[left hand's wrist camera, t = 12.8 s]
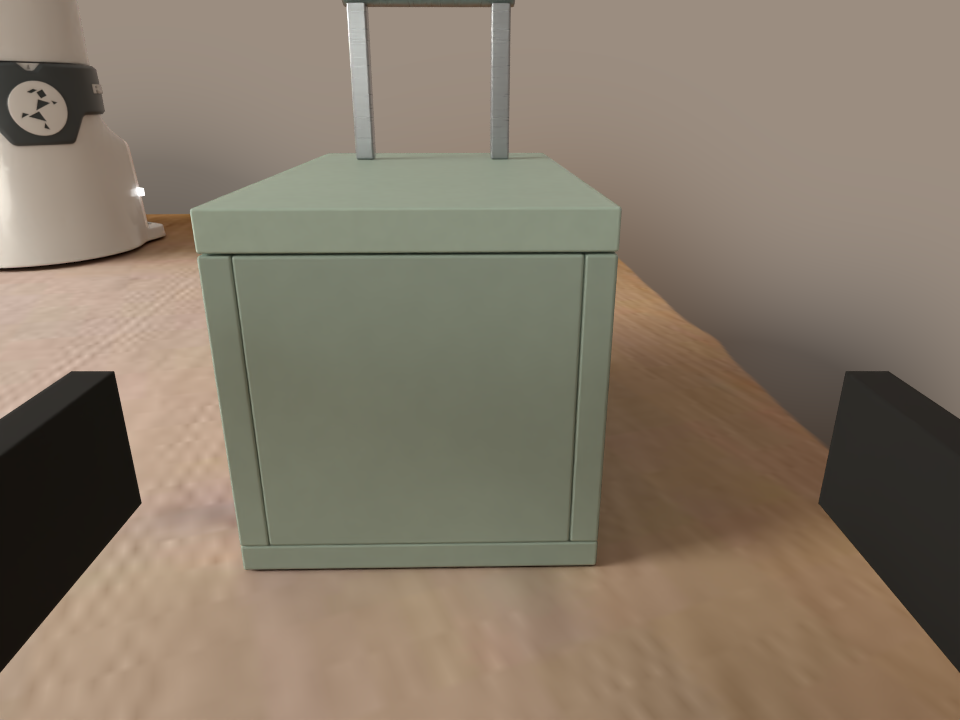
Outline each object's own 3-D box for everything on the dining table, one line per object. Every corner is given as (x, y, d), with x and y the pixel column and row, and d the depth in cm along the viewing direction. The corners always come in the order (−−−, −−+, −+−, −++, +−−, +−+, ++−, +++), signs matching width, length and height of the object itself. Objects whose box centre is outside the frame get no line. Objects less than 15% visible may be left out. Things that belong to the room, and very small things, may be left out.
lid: (329, 177, 30) (313, -26, 28) (543, 176, 31) (549, -25, 28) (195, 254, 15) (130, -176, 12) (619, 251, 15) (650, -172, 13)
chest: (339, 365, 32) (325, 180, 29) (539, 363, 33) (545, 180, 30) (243, 570, 18) (195, 256, 15) (596, 566, 19) (619, 254, 15)
